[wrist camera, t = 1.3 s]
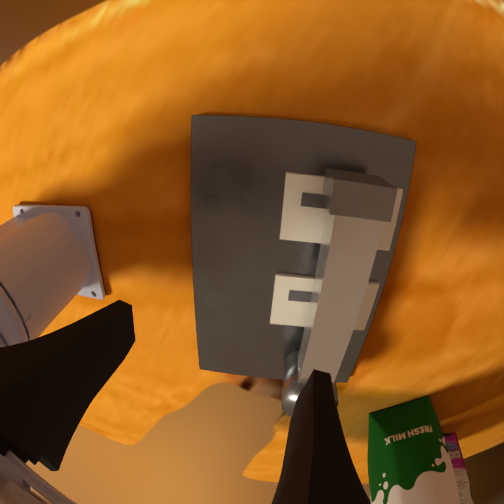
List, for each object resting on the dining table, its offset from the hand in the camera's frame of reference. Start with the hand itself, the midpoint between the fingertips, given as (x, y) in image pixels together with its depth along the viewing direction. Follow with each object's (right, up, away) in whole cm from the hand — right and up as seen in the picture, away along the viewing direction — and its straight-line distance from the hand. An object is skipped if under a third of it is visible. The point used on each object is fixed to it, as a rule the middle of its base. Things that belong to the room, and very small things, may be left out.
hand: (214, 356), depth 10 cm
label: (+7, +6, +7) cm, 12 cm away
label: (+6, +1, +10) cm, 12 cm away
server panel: (+4, +2, +9) cm, 10 cm away
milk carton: (+18, -15, +16) cm, 29 cm away
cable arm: (+6, +1, +9) cm, 11 cm away
